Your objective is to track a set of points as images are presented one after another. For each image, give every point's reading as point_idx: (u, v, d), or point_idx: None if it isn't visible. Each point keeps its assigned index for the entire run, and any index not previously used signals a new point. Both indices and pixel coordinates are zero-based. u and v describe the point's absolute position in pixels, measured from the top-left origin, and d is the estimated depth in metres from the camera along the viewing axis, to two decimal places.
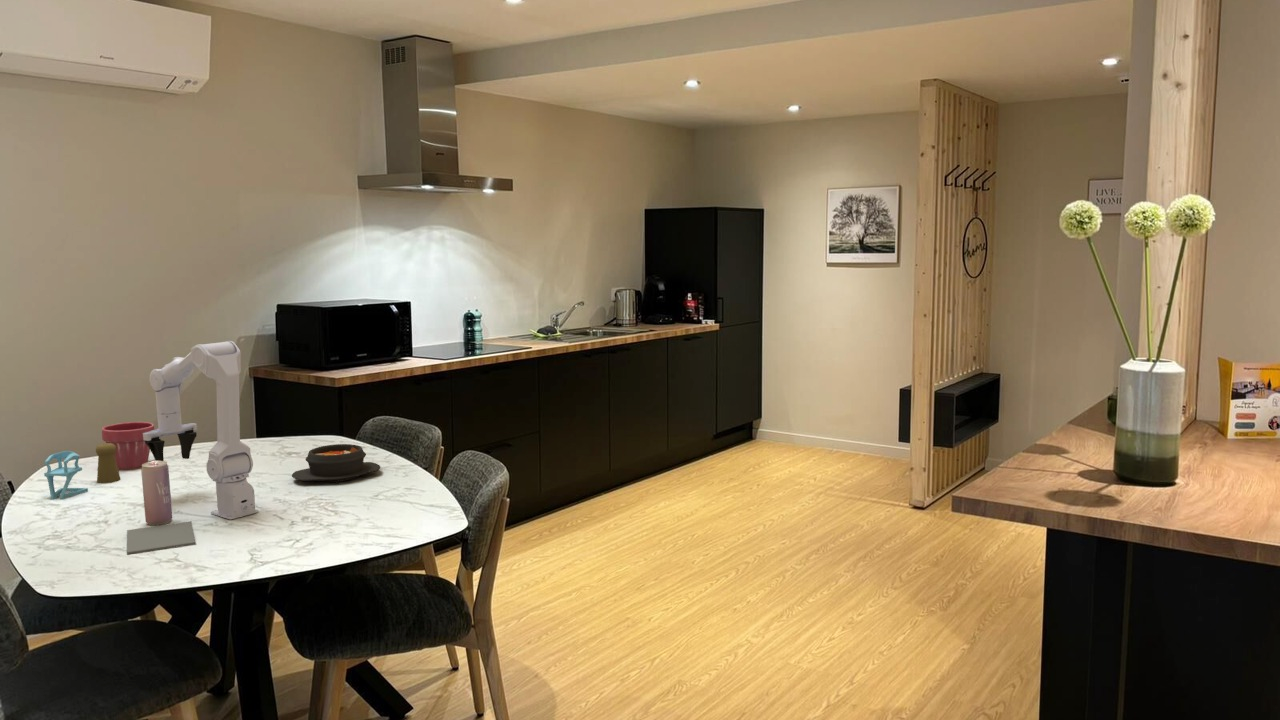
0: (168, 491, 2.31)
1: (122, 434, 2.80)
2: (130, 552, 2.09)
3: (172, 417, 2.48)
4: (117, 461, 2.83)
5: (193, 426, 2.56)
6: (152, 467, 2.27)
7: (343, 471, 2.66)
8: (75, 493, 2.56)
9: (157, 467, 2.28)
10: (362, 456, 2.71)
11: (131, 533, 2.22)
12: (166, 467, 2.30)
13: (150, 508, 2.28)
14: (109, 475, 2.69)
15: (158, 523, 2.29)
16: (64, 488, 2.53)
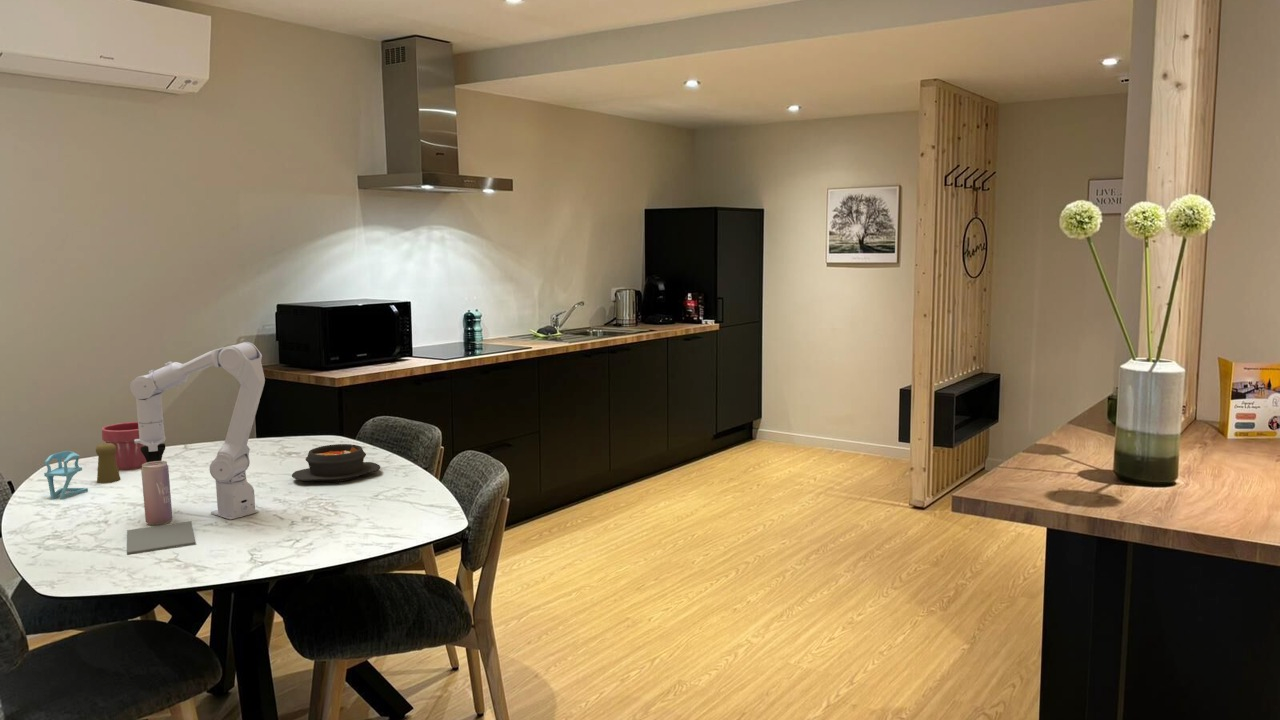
0: (168, 491, 2.31)
1: (122, 434, 2.80)
2: (130, 552, 2.09)
3: (162, 424, 2.37)
4: (117, 461, 2.83)
5: None
6: (152, 467, 2.27)
7: (343, 471, 2.66)
8: (75, 493, 2.56)
9: (157, 467, 2.28)
10: (362, 456, 2.71)
11: (131, 533, 2.22)
12: (166, 467, 2.30)
13: (150, 508, 2.28)
14: (109, 475, 2.69)
15: (158, 523, 2.29)
16: (64, 488, 2.53)
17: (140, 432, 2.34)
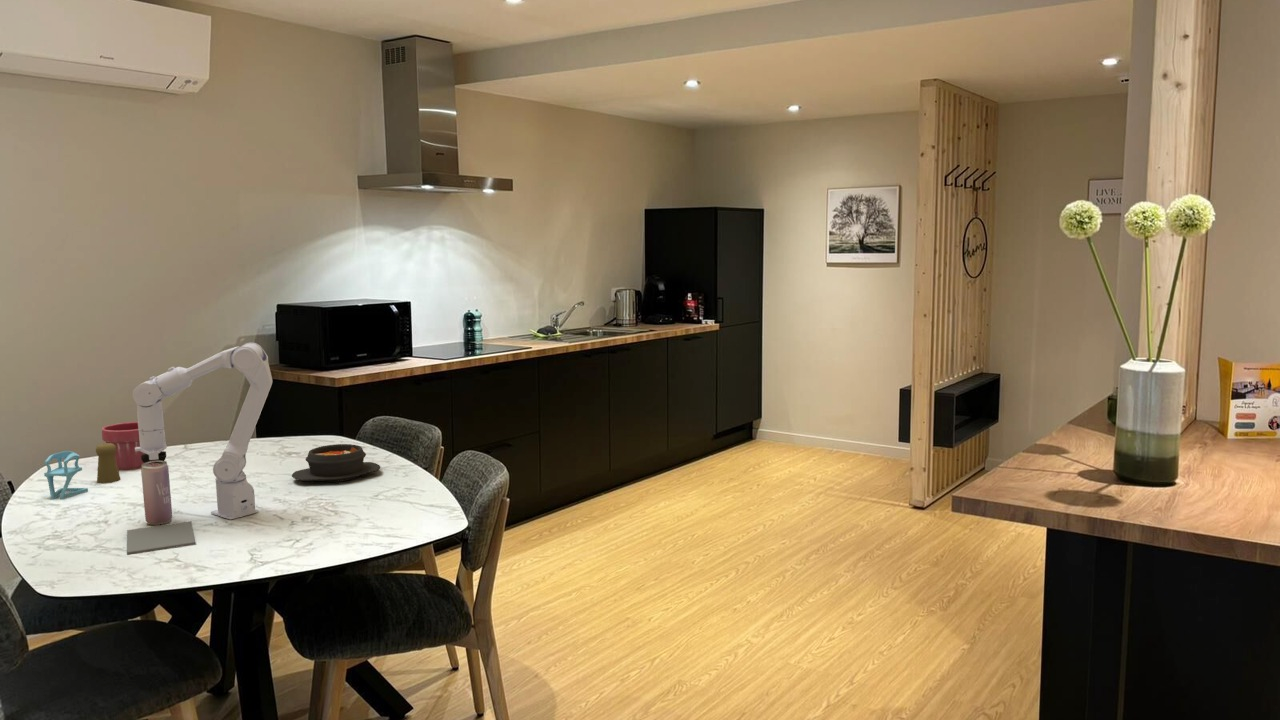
0: (168, 491, 2.30)
1: (122, 434, 2.80)
2: (130, 552, 2.09)
3: (163, 432, 2.32)
4: (117, 461, 2.83)
5: None
6: (152, 468, 2.26)
7: (343, 471, 2.66)
8: (75, 493, 2.56)
9: (157, 468, 2.26)
10: (362, 456, 2.71)
11: (131, 533, 2.22)
12: (166, 467, 2.29)
13: (150, 508, 2.28)
14: (109, 475, 2.69)
15: (158, 523, 2.29)
16: (64, 488, 2.53)
17: (141, 440, 2.30)
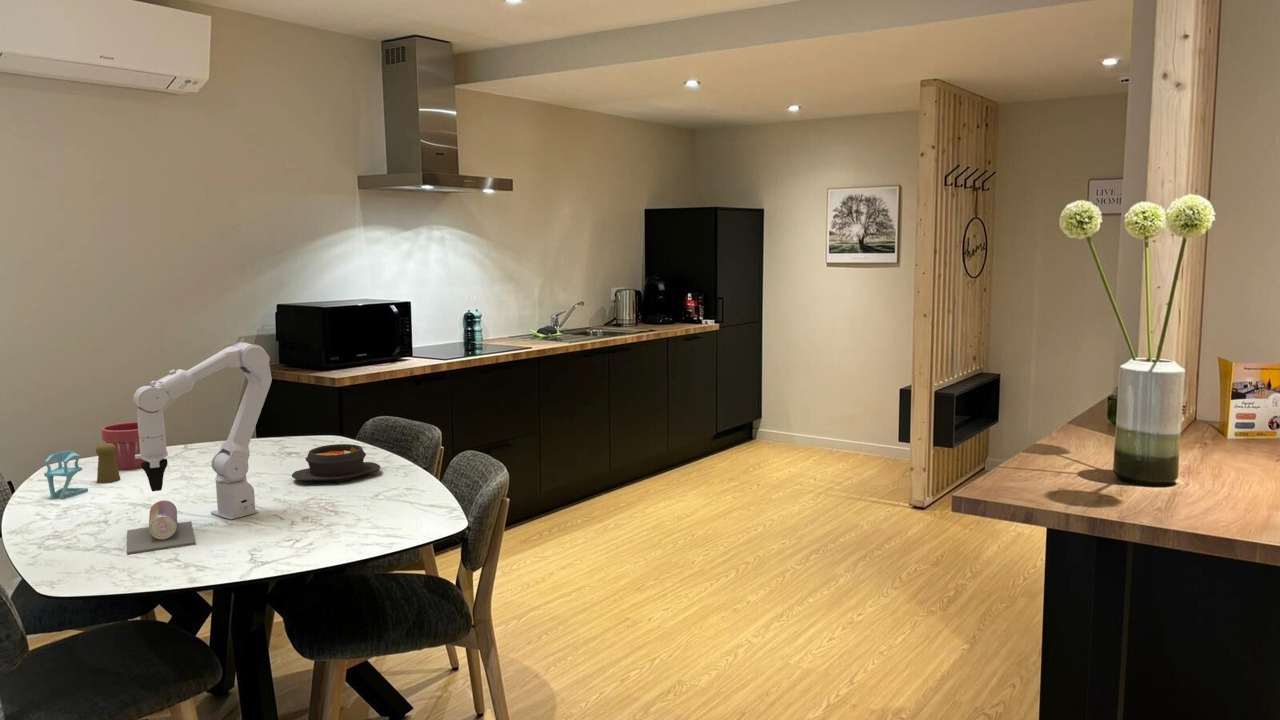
0: None
1: (122, 434, 2.80)
2: (130, 552, 2.09)
3: (165, 439, 2.25)
4: (117, 461, 2.83)
5: None
6: None
7: (343, 471, 2.66)
8: (75, 493, 2.56)
9: None
10: (362, 456, 2.71)
11: (131, 533, 2.22)
12: (173, 533, 2.18)
13: None
14: (109, 475, 2.69)
15: None
16: (64, 488, 2.53)
17: (141, 447, 2.22)
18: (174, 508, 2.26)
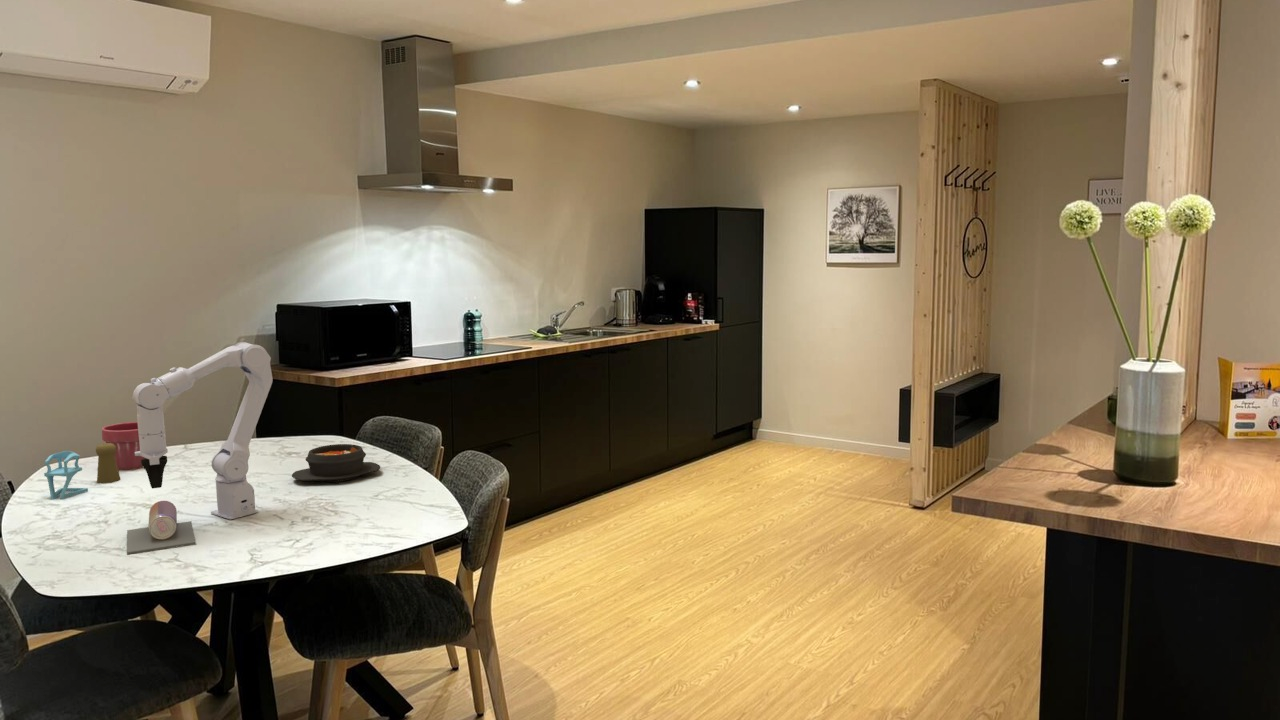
0: None
1: (122, 434, 2.80)
2: (130, 552, 2.09)
3: (164, 436, 2.25)
4: (117, 461, 2.83)
5: None
6: None
7: (343, 471, 2.66)
8: (75, 493, 2.56)
9: None
10: (362, 456, 2.71)
11: (131, 533, 2.22)
12: (173, 533, 2.18)
13: None
14: (109, 475, 2.69)
15: None
16: (64, 488, 2.53)
17: (141, 444, 2.22)
18: (173, 508, 2.26)
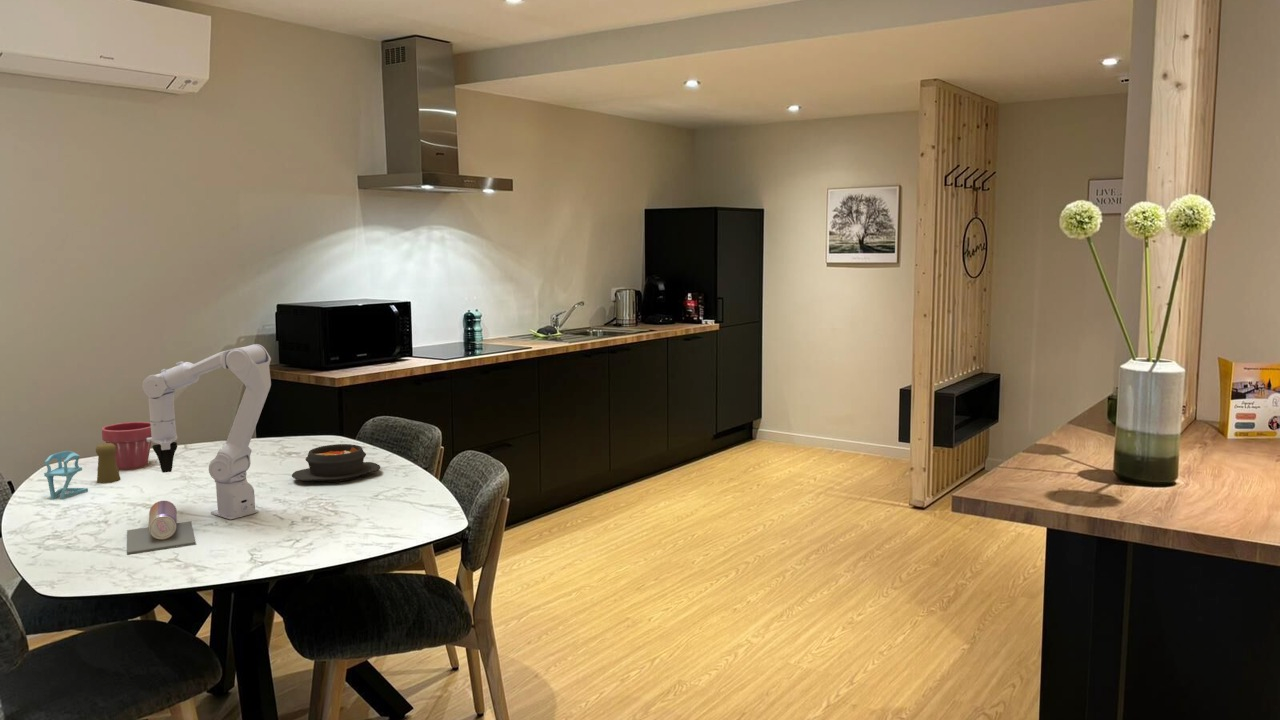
0: None
1: (122, 434, 2.80)
2: (130, 552, 2.09)
3: (174, 423, 2.38)
4: (117, 461, 2.83)
5: None
6: None
7: (343, 471, 2.66)
8: (75, 493, 2.56)
9: None
10: (362, 456, 2.71)
11: (131, 533, 2.22)
12: (173, 533, 2.18)
13: None
14: (109, 475, 2.69)
15: None
16: (64, 488, 2.53)
17: (152, 431, 2.36)
18: (173, 508, 2.26)
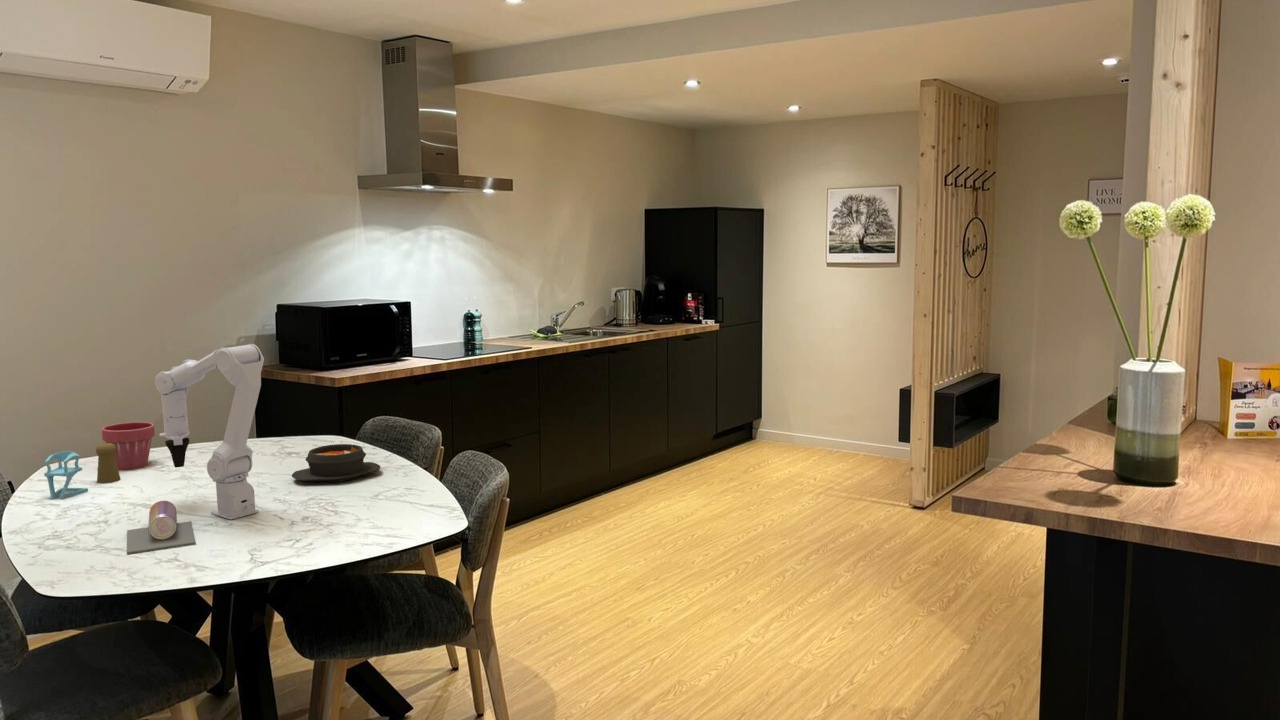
0: None
1: (122, 434, 2.80)
2: (130, 552, 2.09)
3: (187, 419, 2.44)
4: (117, 461, 2.83)
5: None
6: None
7: (343, 471, 2.66)
8: (75, 493, 2.56)
9: None
10: (362, 456, 2.71)
11: (131, 533, 2.22)
12: (173, 533, 2.18)
13: None
14: (109, 475, 2.69)
15: None
16: (64, 488, 2.53)
17: (165, 426, 2.41)
18: (173, 508, 2.26)
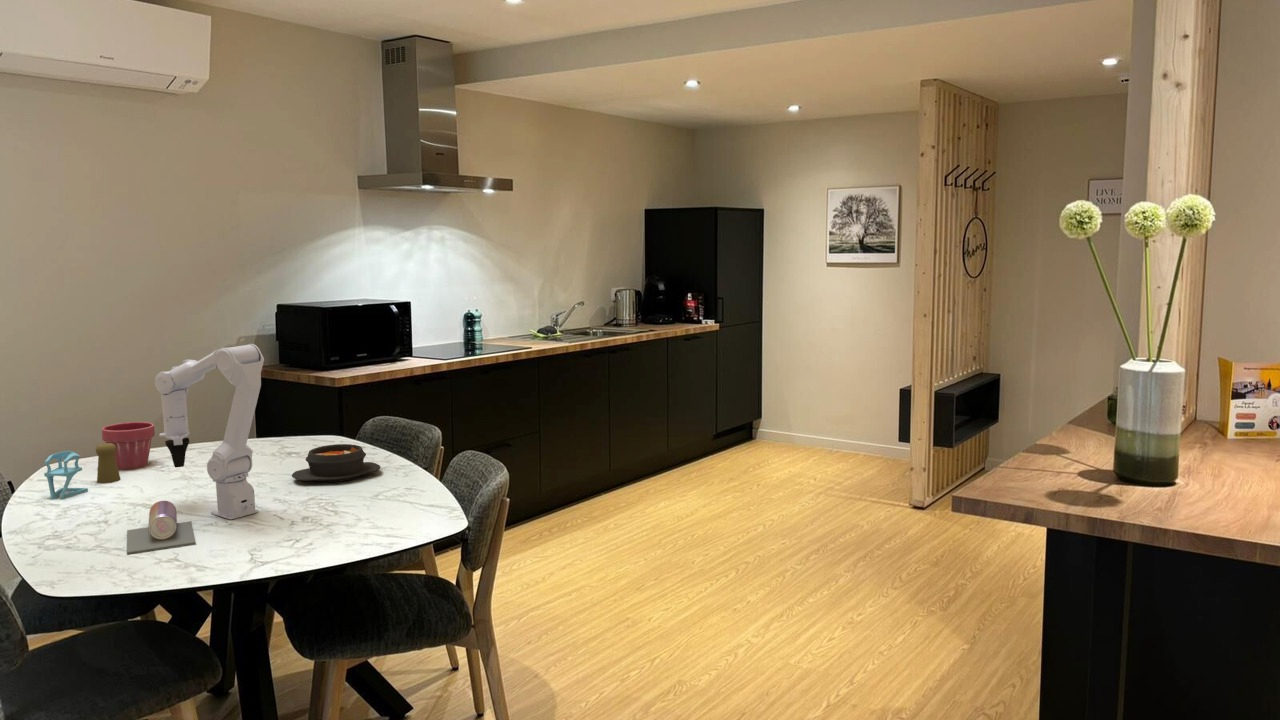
0: None
1: (122, 434, 2.80)
2: (130, 552, 2.09)
3: (187, 419, 2.44)
4: (117, 461, 2.83)
5: None
6: None
7: (343, 471, 2.66)
8: (75, 493, 2.56)
9: None
10: (362, 456, 2.71)
11: (131, 533, 2.22)
12: (173, 533, 2.18)
13: None
14: (109, 475, 2.69)
15: None
16: (64, 488, 2.53)
17: (165, 426, 2.41)
18: (173, 508, 2.26)
